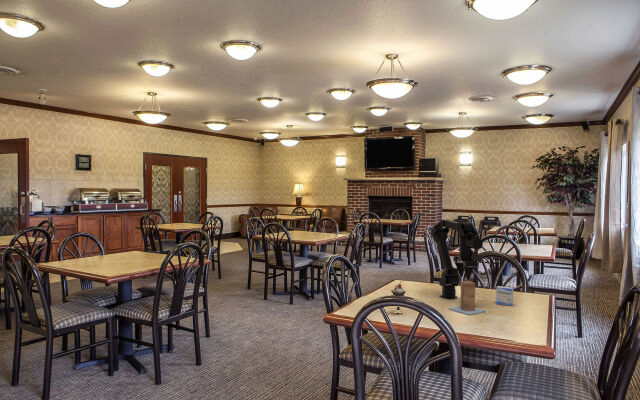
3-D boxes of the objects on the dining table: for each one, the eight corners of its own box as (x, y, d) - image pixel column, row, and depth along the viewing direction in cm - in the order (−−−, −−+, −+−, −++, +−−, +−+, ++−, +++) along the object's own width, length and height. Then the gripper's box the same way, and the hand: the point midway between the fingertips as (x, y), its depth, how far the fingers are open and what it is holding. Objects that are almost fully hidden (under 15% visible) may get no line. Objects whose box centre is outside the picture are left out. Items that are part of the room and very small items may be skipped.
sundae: (402, 315, 209) (402, 282, 209) (388, 313, 213) (389, 281, 213) (407, 312, 215) (408, 280, 215) (394, 310, 219) (394, 278, 218)
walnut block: (460, 308, 221) (460, 281, 221) (470, 308, 222) (471, 281, 221) (464, 310, 216) (464, 283, 216) (474, 310, 217) (475, 283, 216)
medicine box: (495, 304, 233) (496, 287, 232) (496, 302, 237) (497, 285, 236) (512, 306, 229) (512, 288, 229) (513, 304, 233) (513, 287, 233)
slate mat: (448, 309, 221) (448, 308, 221) (465, 306, 227) (465, 305, 227) (469, 315, 211) (469, 314, 211) (486, 311, 217) (486, 310, 217)
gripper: (488, 249, 223) (488, 281, 224) (474, 245, 242) (473, 274, 242) (466, 249, 223) (465, 281, 223) (453, 245, 241) (452, 274, 242)
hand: (464, 278), depth 233 cm, fingers open, 9 cm apart
